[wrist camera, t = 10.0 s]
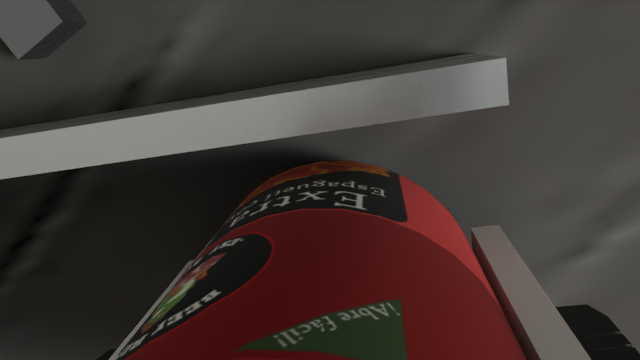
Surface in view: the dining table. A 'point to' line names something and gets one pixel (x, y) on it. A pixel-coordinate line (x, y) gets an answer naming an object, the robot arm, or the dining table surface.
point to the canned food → (331, 279)
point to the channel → (258, 114)
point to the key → (37, 26)
